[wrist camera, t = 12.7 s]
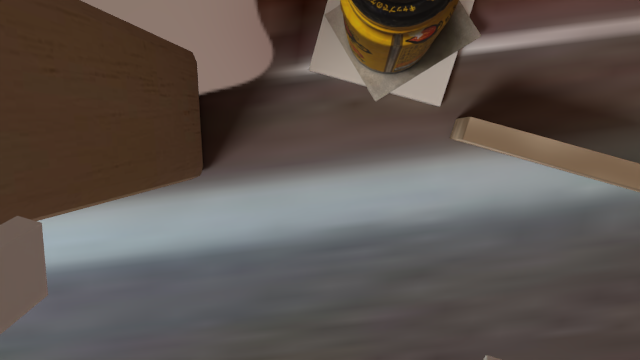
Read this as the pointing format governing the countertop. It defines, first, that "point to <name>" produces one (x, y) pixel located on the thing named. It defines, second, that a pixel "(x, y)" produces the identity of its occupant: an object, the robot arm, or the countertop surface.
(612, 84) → the countertop surface
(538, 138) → the open wooden frame
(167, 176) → the block
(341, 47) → the trivet
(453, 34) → the condiment
